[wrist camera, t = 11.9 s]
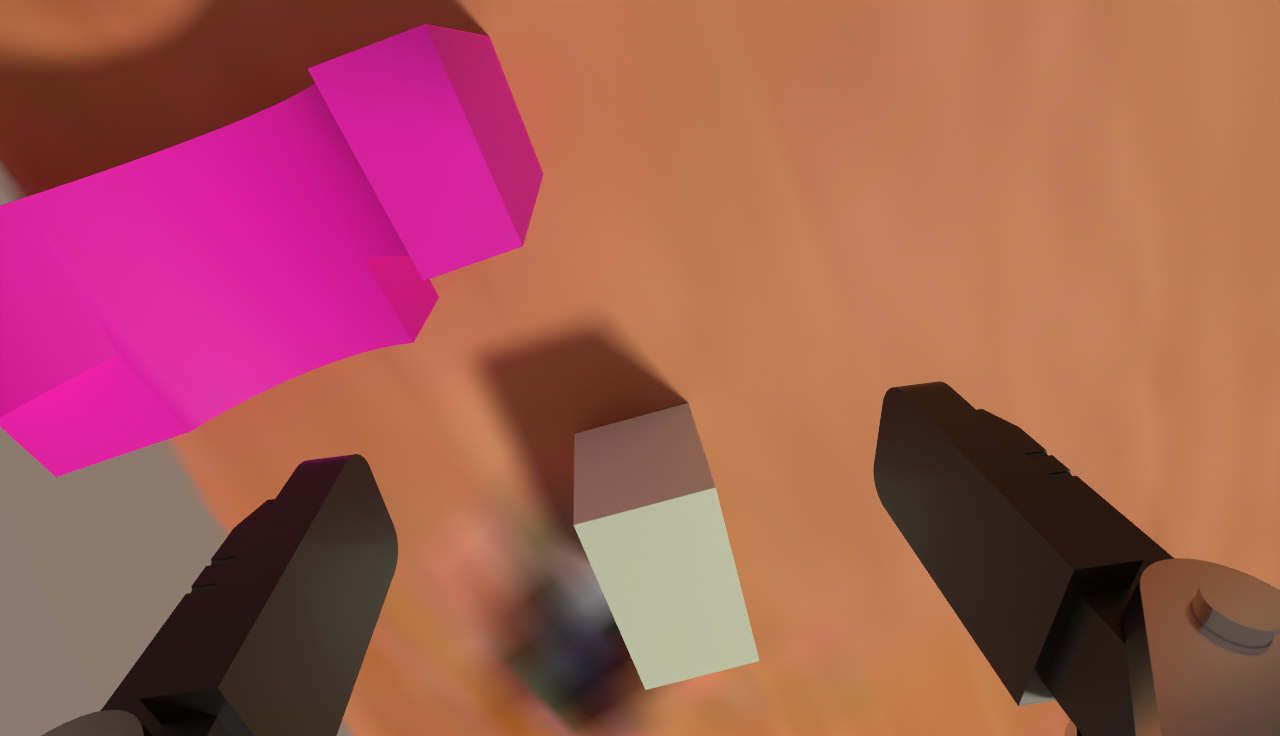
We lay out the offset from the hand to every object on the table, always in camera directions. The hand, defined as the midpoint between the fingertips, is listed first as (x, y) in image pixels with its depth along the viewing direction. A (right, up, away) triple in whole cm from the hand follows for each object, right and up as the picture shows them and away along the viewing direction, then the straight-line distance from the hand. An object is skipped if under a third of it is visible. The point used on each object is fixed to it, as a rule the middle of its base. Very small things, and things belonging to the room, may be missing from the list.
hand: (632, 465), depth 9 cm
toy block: (-10, +6, +9) cm, 14 cm away
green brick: (+1, -6, +11) cm, 12 cm away
